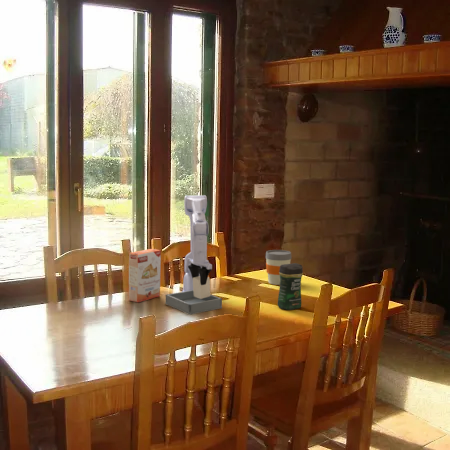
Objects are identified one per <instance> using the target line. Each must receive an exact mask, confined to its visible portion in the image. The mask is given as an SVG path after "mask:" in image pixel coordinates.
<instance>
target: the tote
mask: <svg viewBox="0 0 450 450" xmlns="http://www.w3.org/2000/svg"><path fill="white" fill-rule="evenodd" d="M165 305H167V306H169V307H171V308H173V309H176V310H178V311H180V312H183V313H185V314H187V315H194V314H199V313H204V312H209V311H215V310H218V309H219V310H220V309H223V298H222V297H218V296H216V295H213V294H211V293H210V296H209V297H206V298H202V299H199V298H197V297H194V292H193V290H190V291H185V292H182V291H179V292H173V293H167V294H165Z"/></svg>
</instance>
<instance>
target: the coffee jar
mask: <svg viewBox="0 0 450 450" xmlns="http://www.w3.org/2000/svg"><path fill="white" fill-rule="evenodd" d="M279 275H280V285H279V289H278V297H277V307H278V308H279V309H281V310H288V311H289V310H290V311H291V310H297V309H301V307H302V286H301V285H302V277H303V275H304V272H303V265H302V264H299V263H290V264H284V265H281V266H280V270H279Z"/></svg>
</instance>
